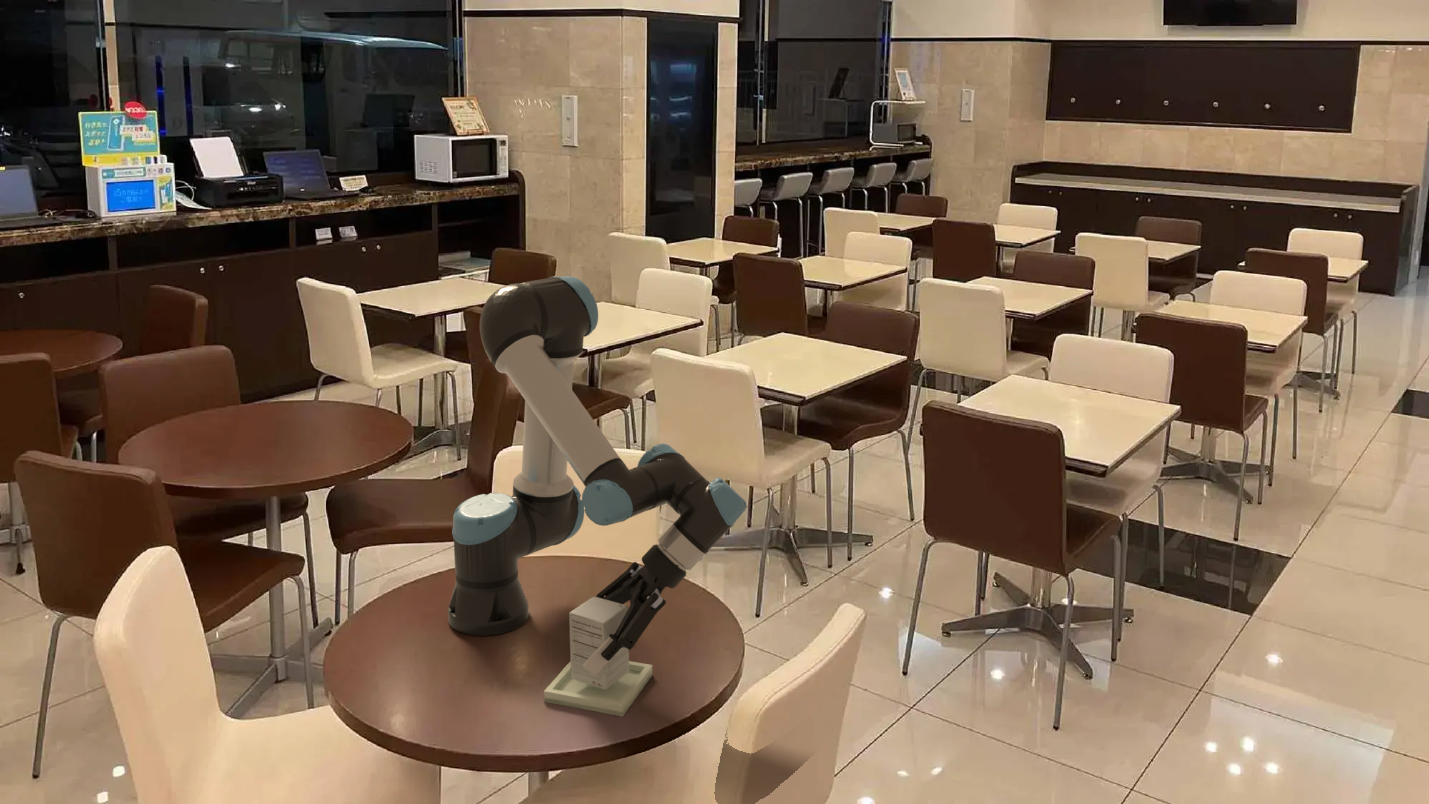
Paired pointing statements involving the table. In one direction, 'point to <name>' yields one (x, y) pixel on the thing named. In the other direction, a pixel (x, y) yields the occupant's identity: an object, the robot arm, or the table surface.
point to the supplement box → (596, 641)
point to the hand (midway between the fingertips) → (582, 654)
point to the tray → (599, 691)
